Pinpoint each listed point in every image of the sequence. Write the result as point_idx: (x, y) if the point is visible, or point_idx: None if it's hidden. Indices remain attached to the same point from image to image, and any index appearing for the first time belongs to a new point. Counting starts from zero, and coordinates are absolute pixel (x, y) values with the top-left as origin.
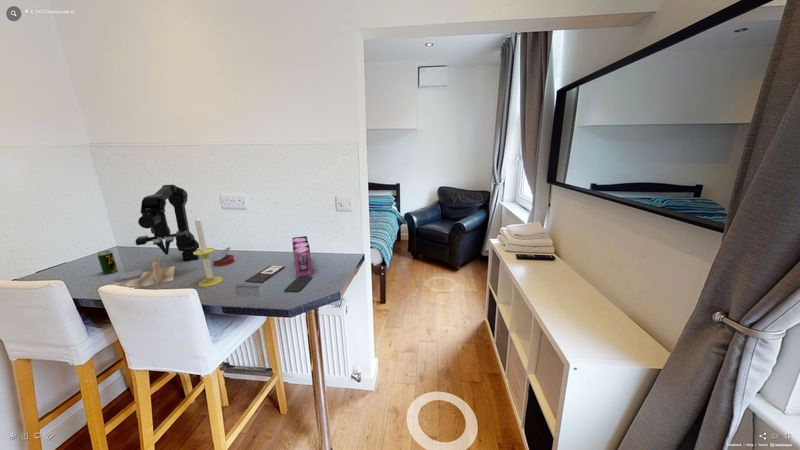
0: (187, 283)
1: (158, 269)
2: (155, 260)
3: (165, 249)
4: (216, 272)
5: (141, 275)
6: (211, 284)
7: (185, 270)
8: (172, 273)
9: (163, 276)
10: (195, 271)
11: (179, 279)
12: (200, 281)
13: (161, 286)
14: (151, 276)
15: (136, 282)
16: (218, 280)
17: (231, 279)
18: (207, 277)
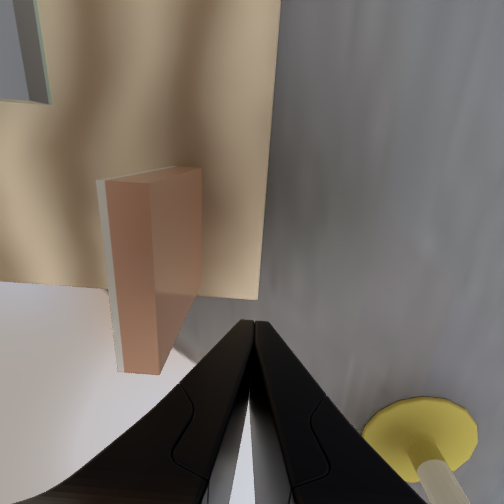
0: (321, 387)
1: (176, 336)
2: (118, 231)
3: (243, 397)
4: (490, 333)
5: (37, 38)
6: (408, 478)
7: (346, 132)
8: (258, 158)
9: (203, 184)
10: (399, 216)
11: (292, 300)
12: (379, 417)
13: (204, 341)
14: (120, 113)
15: (49, 182)
16: (449, 458)
17: (498, 470)
18: (420, 480)
